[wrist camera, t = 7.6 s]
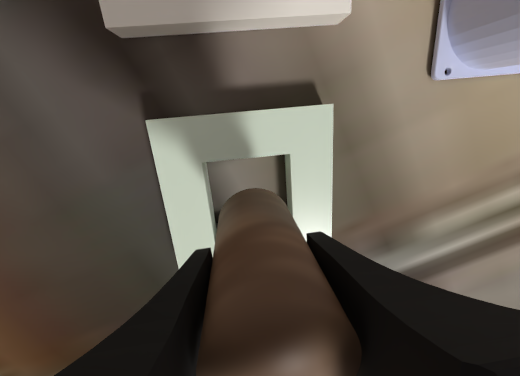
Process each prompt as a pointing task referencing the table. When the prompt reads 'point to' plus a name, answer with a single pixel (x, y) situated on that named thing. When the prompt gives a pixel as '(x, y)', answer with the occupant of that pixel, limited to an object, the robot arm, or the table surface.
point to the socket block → (216, 15)
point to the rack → (239, 147)
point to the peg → (271, 299)
